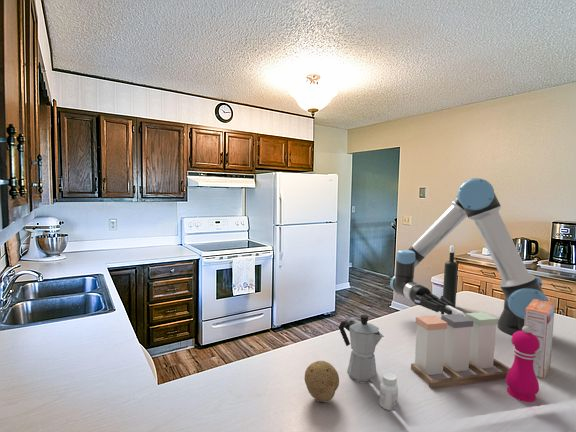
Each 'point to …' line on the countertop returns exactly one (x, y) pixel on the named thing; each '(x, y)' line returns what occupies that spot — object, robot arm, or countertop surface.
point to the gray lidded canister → (457, 341)
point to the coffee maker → (361, 348)
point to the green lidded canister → (482, 339)
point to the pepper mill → (523, 366)
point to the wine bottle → (450, 278)
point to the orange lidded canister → (430, 344)
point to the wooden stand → (462, 380)
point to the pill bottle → (388, 391)
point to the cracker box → (541, 332)
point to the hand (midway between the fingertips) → (460, 316)
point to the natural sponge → (321, 380)
